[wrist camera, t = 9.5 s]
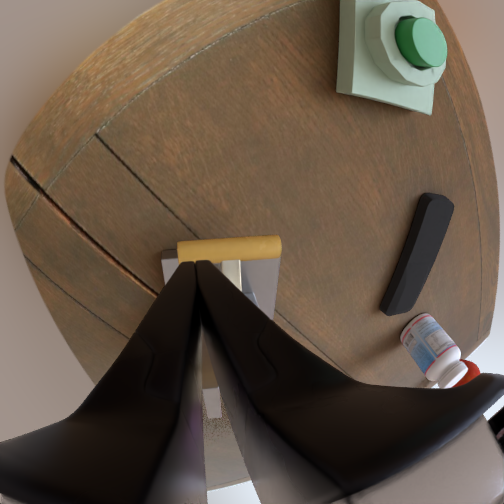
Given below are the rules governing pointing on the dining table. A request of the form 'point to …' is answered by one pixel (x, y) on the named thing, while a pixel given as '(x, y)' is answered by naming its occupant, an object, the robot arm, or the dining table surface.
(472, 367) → the apple
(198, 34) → the dining table surface
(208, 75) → the dining table surface
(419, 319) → the pill bottle
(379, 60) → the push button base
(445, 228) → the remote control
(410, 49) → the button
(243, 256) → the latch lever
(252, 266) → the latch bracket
